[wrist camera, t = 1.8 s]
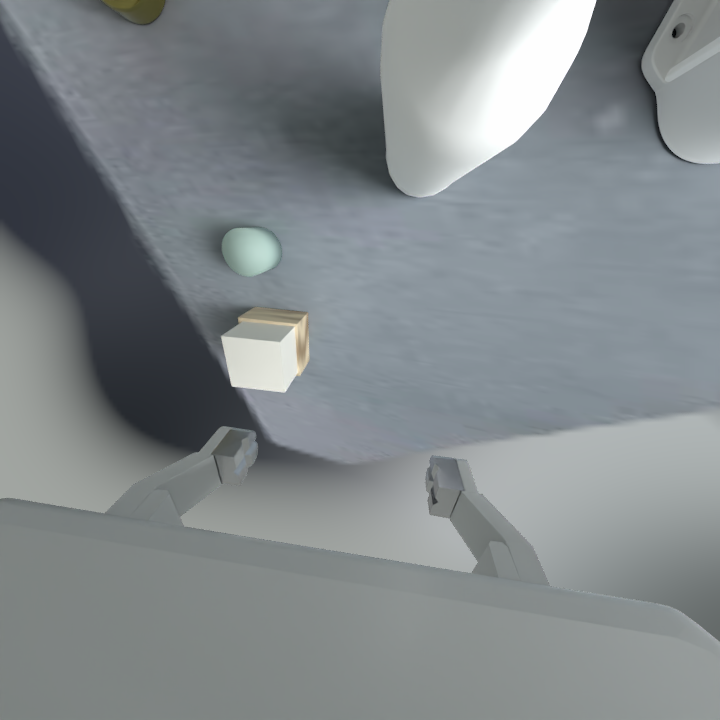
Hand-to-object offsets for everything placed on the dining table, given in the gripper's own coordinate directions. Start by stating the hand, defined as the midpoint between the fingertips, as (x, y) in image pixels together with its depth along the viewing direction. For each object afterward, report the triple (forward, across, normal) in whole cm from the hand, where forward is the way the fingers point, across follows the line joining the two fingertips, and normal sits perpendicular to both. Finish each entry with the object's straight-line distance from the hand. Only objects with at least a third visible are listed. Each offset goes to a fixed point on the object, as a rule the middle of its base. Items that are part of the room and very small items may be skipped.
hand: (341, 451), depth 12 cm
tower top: (+22, +13, +7) cm, 27 cm away
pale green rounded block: (+27, +15, -5) cm, 31 cm away
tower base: (+27, +14, +7) cm, 31 cm away
